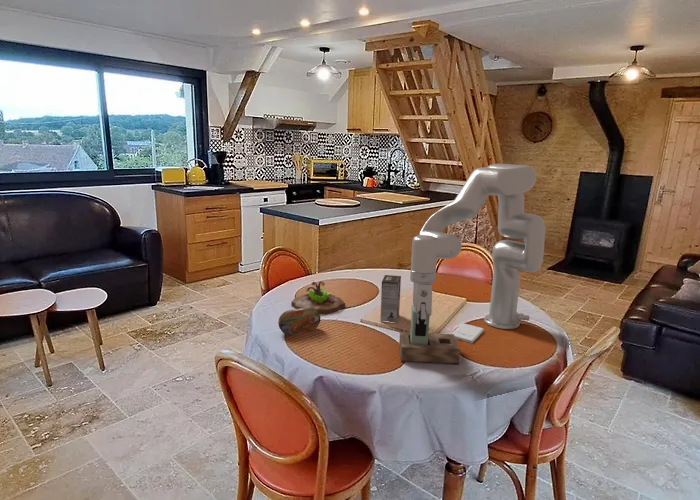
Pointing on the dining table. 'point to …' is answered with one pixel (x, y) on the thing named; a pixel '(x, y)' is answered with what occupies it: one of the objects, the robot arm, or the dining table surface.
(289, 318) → the tin
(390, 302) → the coffee box
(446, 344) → the socket block
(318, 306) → the plant
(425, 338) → the square peg
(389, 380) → the dining table surface
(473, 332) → the external hard drive
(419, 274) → the robot arm
